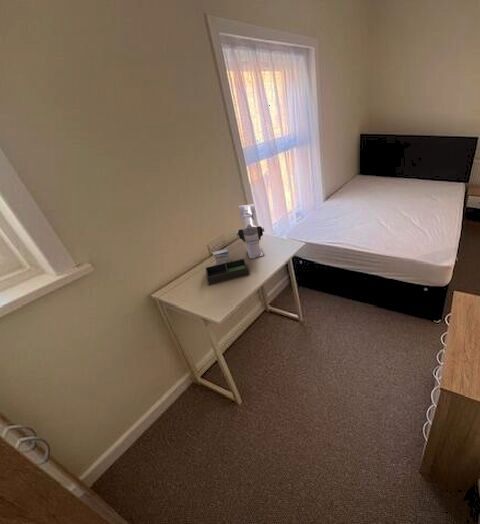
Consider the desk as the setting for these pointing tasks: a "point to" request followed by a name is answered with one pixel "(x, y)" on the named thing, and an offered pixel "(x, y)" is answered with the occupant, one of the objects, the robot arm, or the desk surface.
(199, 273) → the desk surface
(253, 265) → the desk surface
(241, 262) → the organizer
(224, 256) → the medicine box
